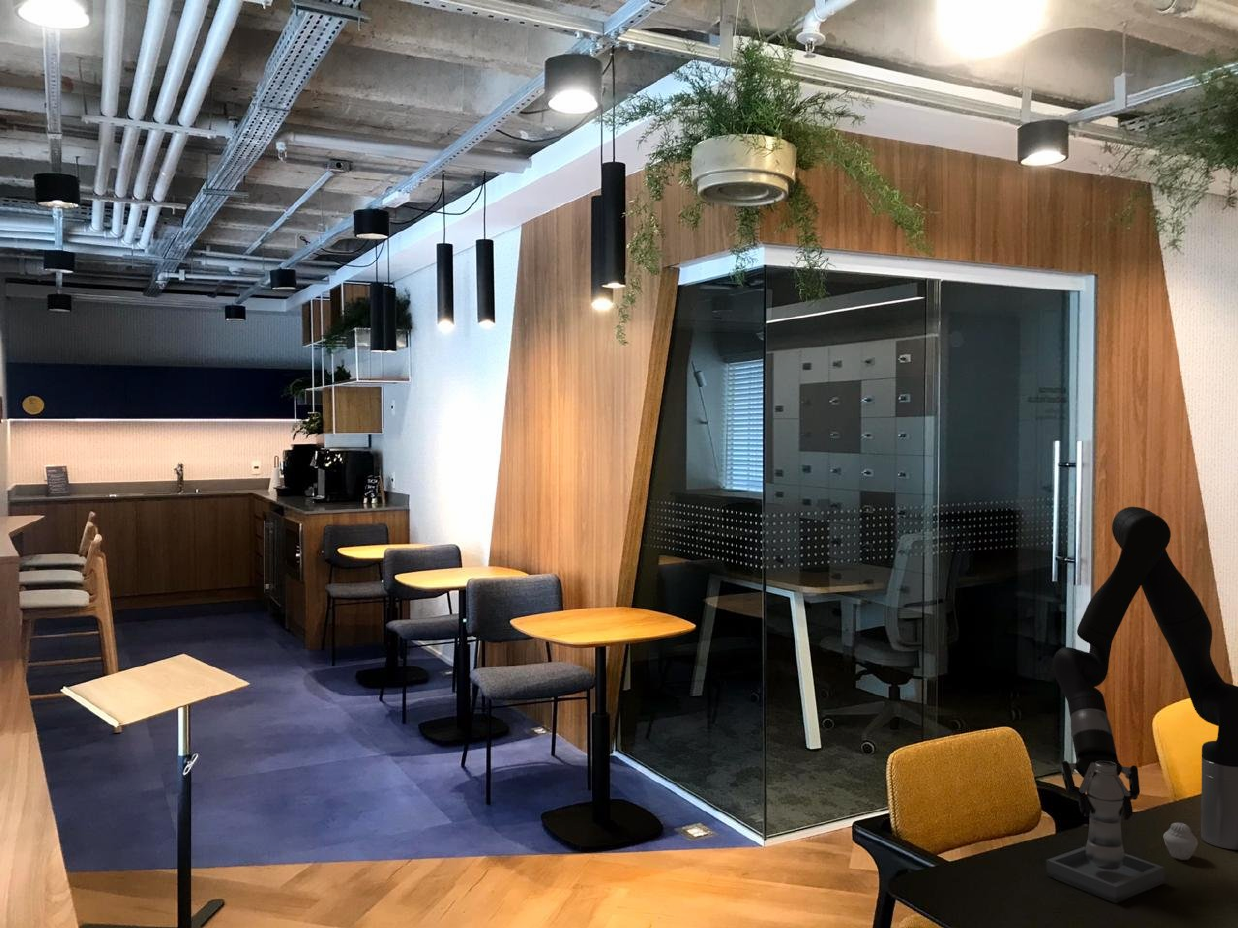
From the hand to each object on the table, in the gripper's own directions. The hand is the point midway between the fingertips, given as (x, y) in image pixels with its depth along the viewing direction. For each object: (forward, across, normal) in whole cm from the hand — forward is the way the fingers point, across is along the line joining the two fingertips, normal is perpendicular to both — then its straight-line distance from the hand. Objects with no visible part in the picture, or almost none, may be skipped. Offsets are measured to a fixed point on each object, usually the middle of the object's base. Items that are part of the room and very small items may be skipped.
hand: (1107, 816), depth 187 cm
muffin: (-2, +18, +21) cm, 27 cm away
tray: (+8, 0, +10) cm, 13 cm away
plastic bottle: (+6, 0, +9) cm, 11 cm away
